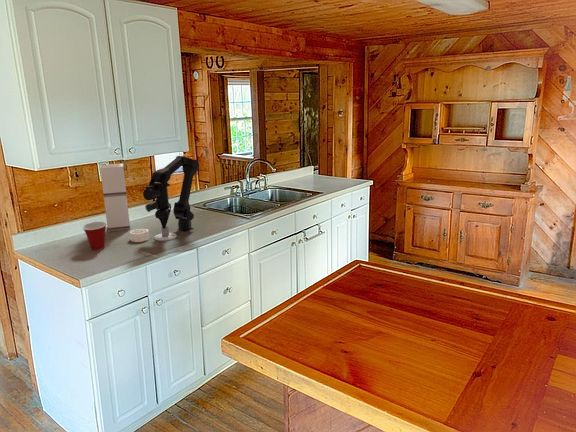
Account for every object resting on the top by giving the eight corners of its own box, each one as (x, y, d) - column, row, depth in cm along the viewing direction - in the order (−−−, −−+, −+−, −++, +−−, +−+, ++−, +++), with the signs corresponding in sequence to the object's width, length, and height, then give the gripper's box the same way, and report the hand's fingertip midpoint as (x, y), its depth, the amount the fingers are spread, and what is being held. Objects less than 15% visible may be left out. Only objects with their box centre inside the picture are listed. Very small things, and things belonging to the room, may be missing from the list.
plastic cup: (80, 250, 211) (76, 226, 208) (98, 243, 220) (95, 220, 217) (95, 253, 206) (92, 228, 203) (114, 246, 215) (111, 223, 212)
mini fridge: (129, 224, 254) (123, 163, 245) (130, 229, 244) (123, 166, 235) (108, 226, 250) (100, 165, 241) (108, 231, 240) (100, 167, 231)
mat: (167, 233, 235) (167, 233, 235) (181, 237, 229) (181, 236, 229) (150, 239, 226) (150, 238, 226) (164, 242, 220) (164, 242, 220)
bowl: (142, 236, 232) (141, 227, 230) (153, 238, 227) (152, 230, 225) (127, 240, 225) (126, 232, 223) (138, 243, 219) (137, 234, 218)
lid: (167, 233, 235) (166, 223, 234) (181, 236, 229) (180, 226, 227) (150, 238, 226) (149, 228, 225) (164, 242, 220) (163, 231, 219)
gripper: (148, 193, 230) (150, 222, 234) (142, 201, 212) (146, 232, 216) (170, 192, 231) (172, 220, 235) (166, 200, 214) (169, 230, 218)
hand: (164, 226), depth 226 cm, fingers open, 9 cm apart
